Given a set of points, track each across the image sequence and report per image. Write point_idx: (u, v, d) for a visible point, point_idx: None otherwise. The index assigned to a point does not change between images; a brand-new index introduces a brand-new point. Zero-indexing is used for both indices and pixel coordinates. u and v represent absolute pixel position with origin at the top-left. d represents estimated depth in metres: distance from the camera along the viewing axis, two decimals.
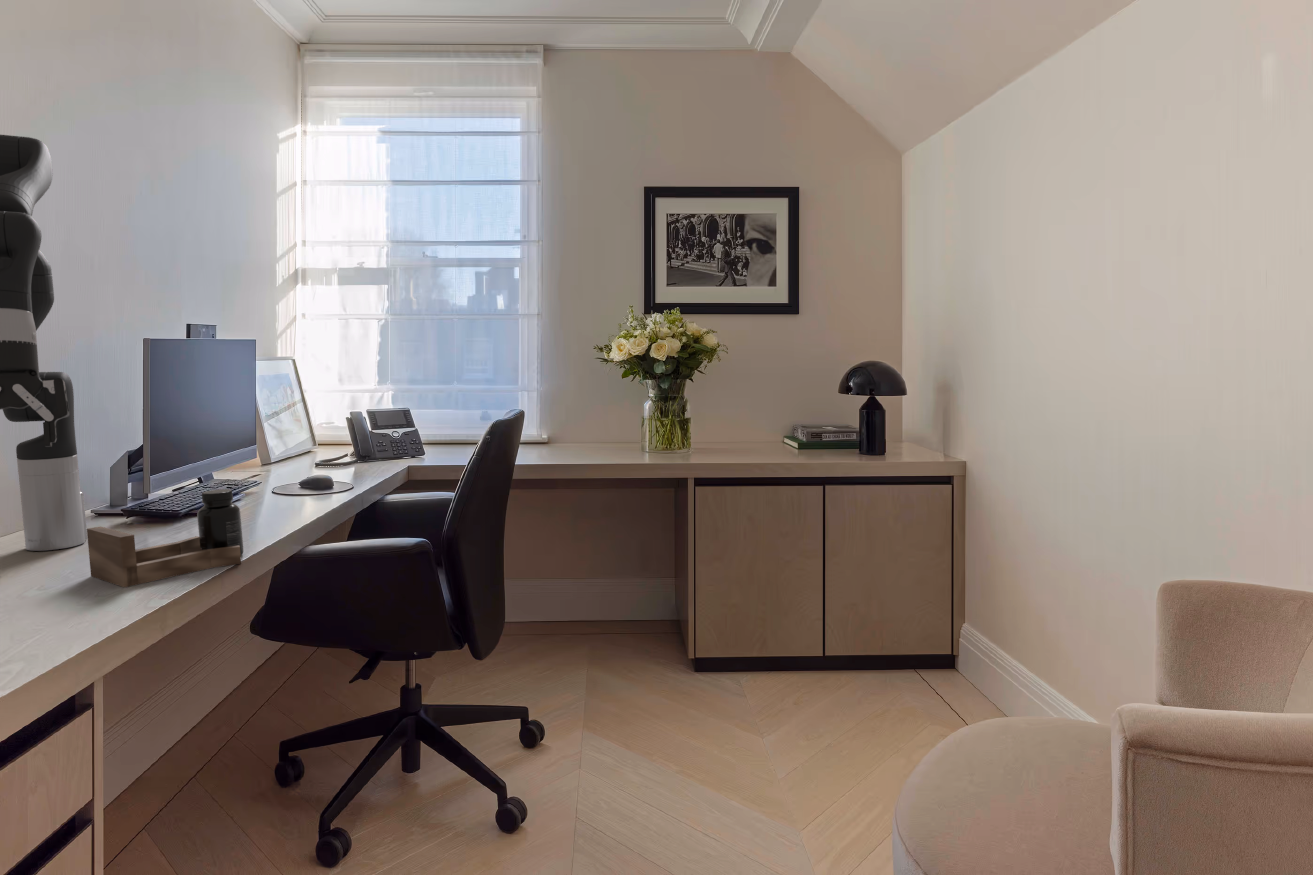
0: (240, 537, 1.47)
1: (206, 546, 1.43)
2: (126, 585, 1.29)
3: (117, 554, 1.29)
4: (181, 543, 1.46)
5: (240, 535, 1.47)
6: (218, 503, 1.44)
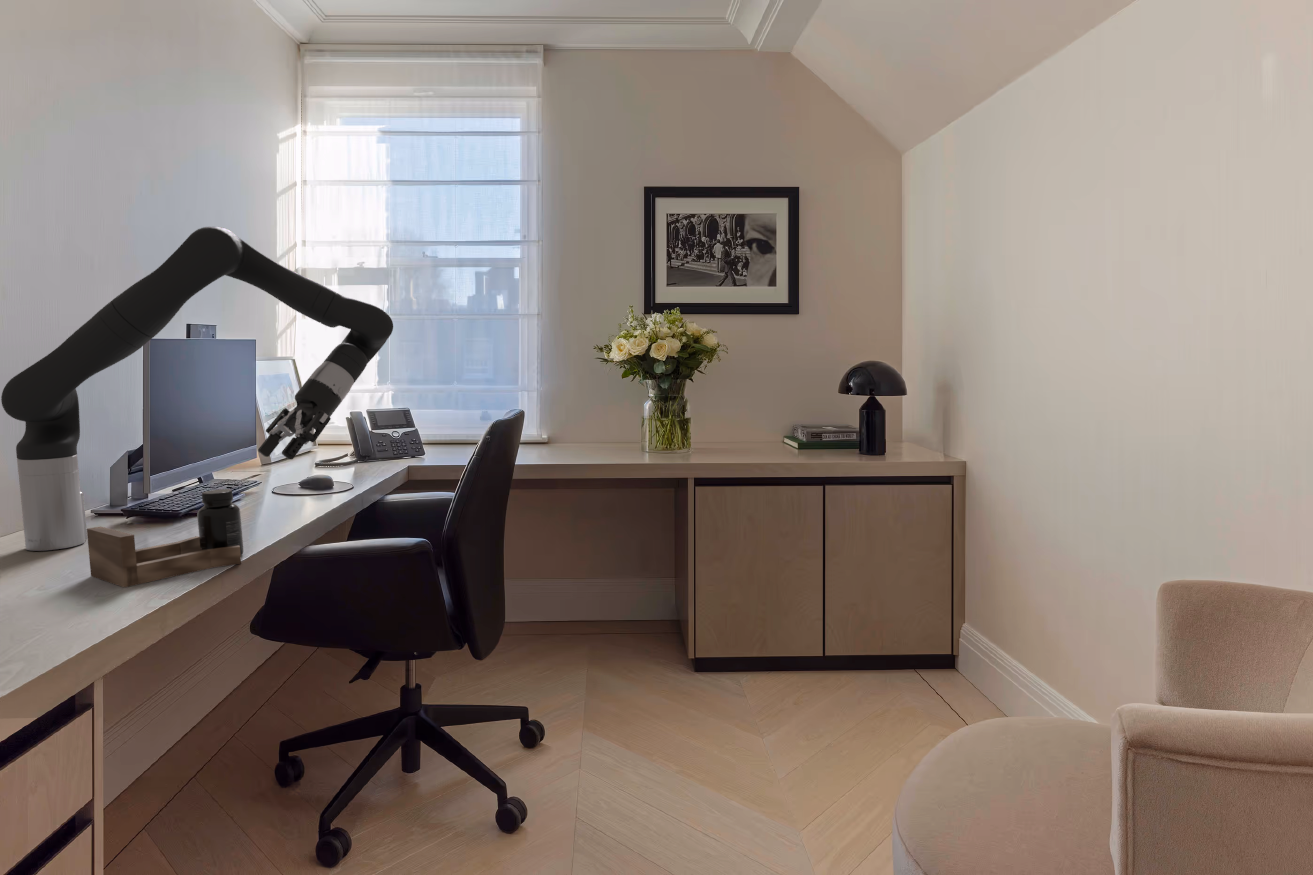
0: (240, 537, 1.47)
1: (206, 546, 1.43)
2: (126, 585, 1.29)
3: (117, 554, 1.29)
4: (181, 543, 1.46)
5: (240, 535, 1.47)
6: (218, 503, 1.44)
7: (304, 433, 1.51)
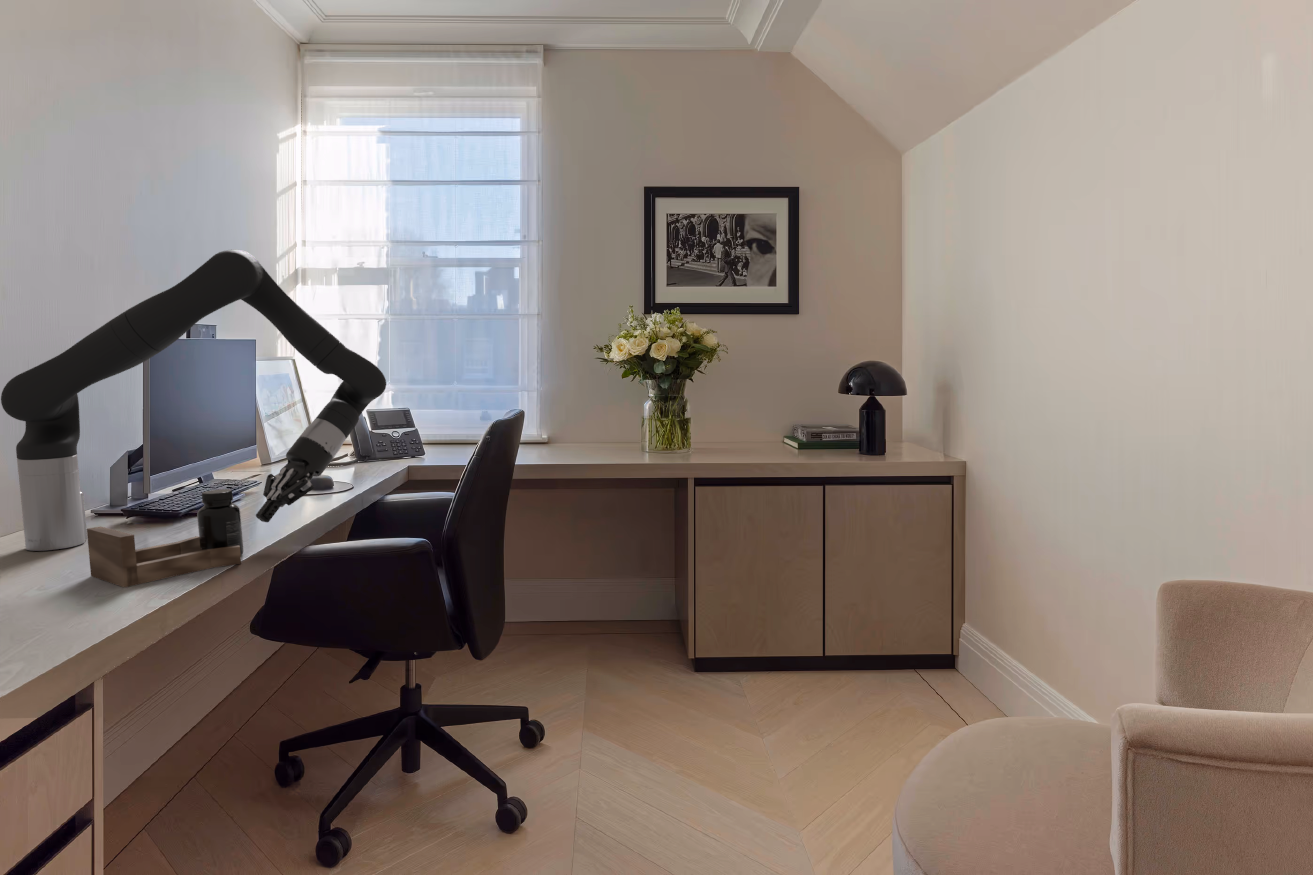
0: (240, 537, 1.47)
1: (206, 546, 1.43)
2: (126, 585, 1.29)
3: (117, 554, 1.29)
4: (181, 543, 1.46)
5: (240, 535, 1.47)
6: (218, 503, 1.44)
7: (281, 496, 1.53)
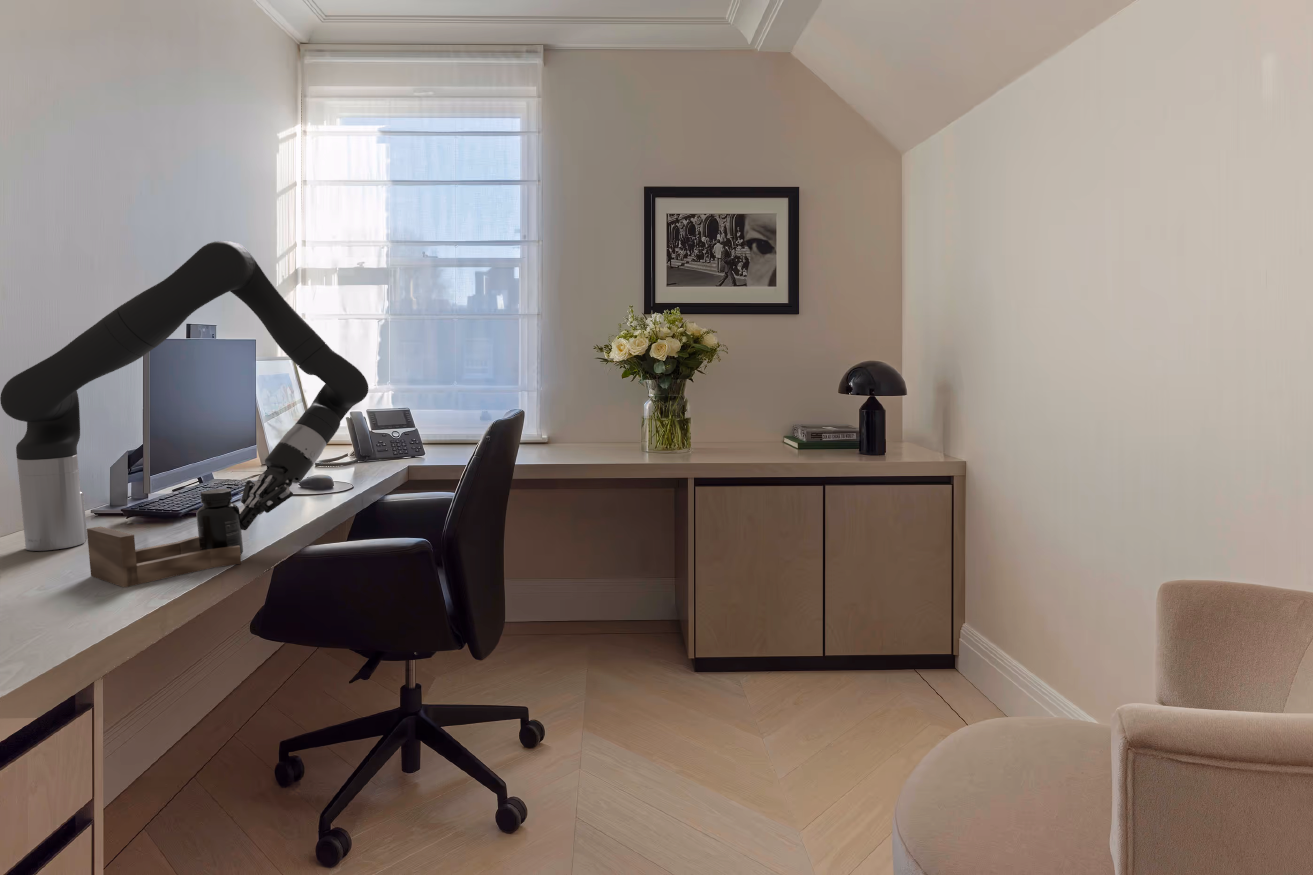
0: (239, 537, 1.47)
1: (206, 546, 1.43)
2: (126, 585, 1.29)
3: (117, 554, 1.29)
4: (181, 543, 1.46)
5: (239, 535, 1.47)
6: (217, 502, 1.44)
7: (259, 504, 1.49)
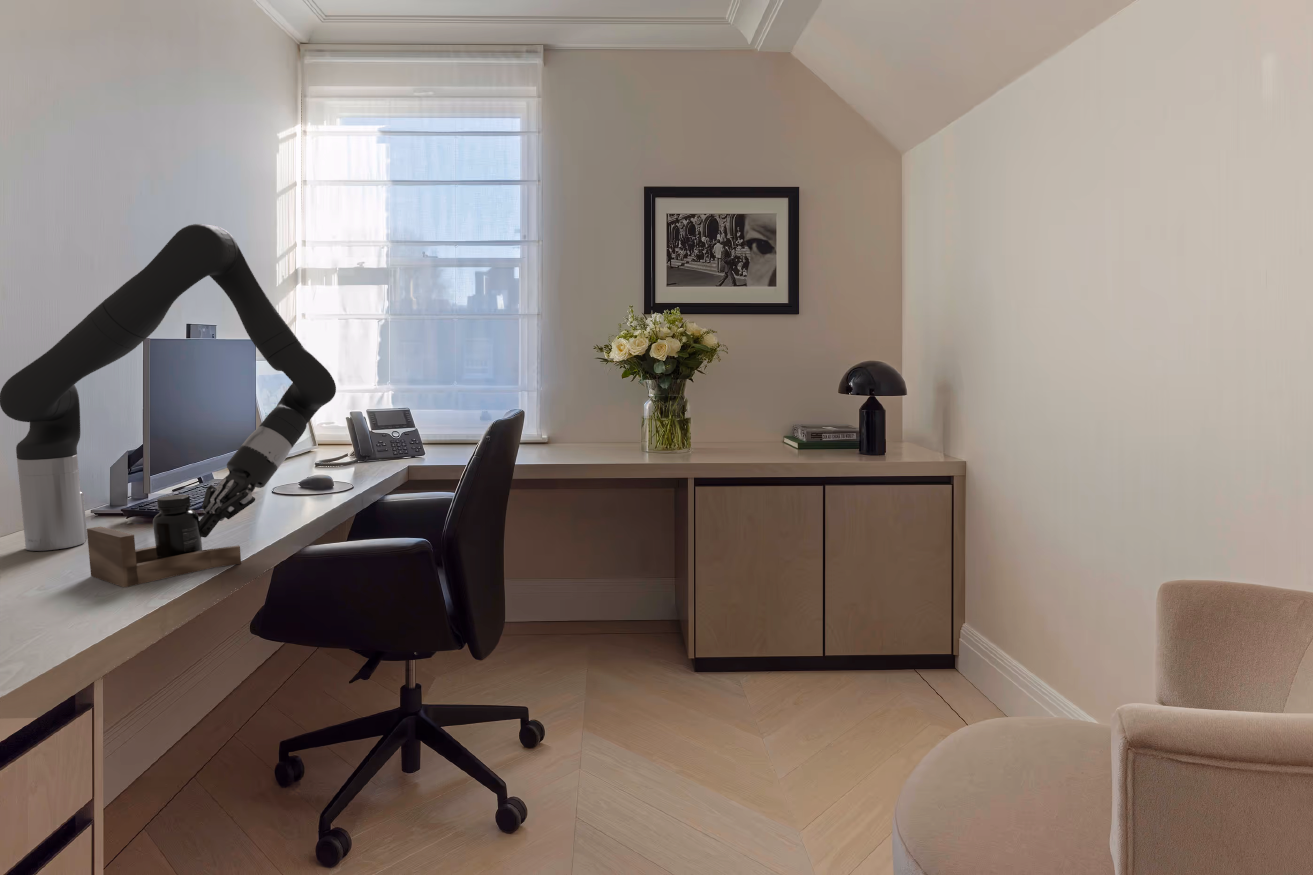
0: (199, 544, 1.41)
1: (162, 554, 1.38)
2: (126, 585, 1.29)
3: (117, 554, 1.29)
4: None
5: (199, 542, 1.41)
6: (174, 509, 1.38)
7: (219, 510, 1.43)
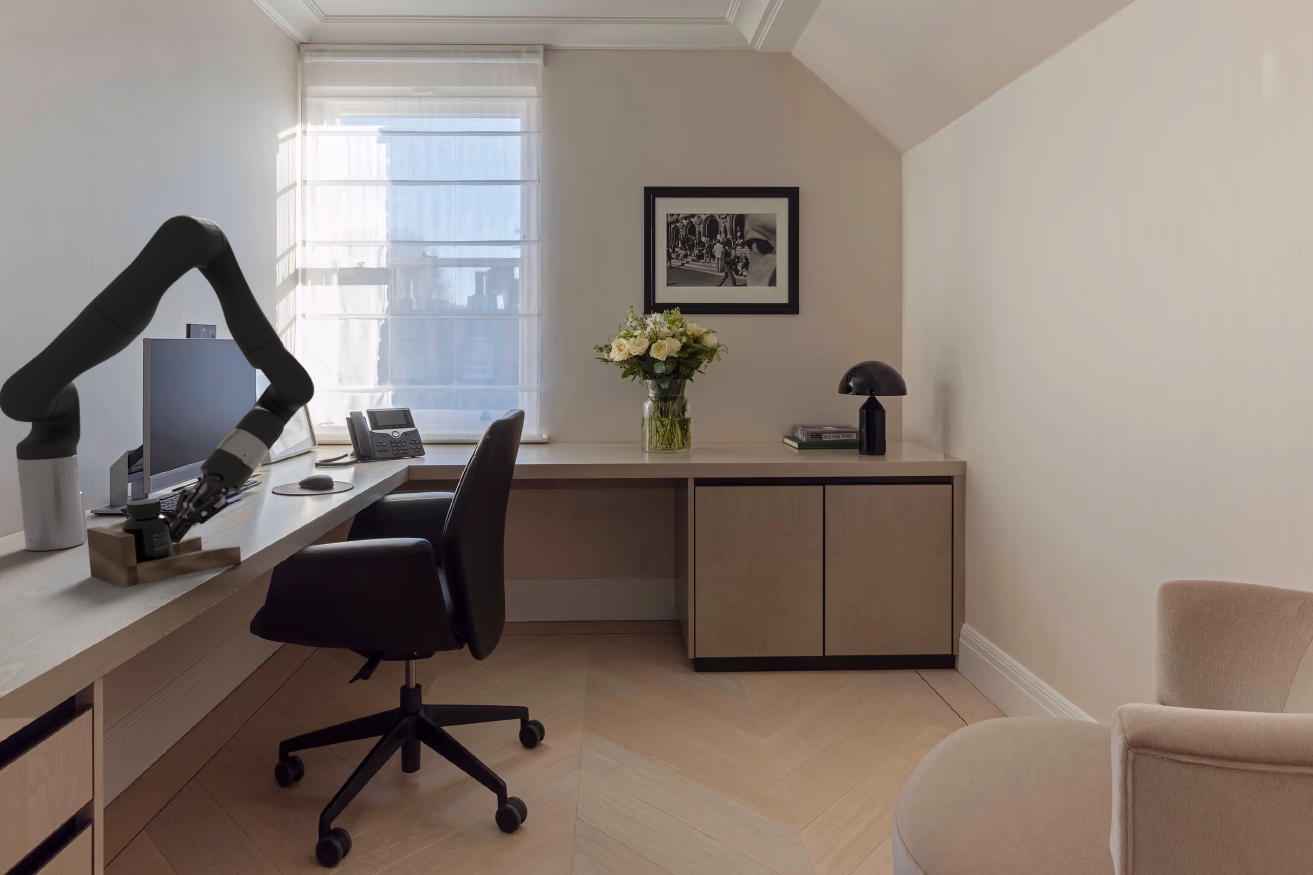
0: (170, 550, 1.37)
1: None
2: (126, 585, 1.29)
3: (117, 554, 1.29)
4: (181, 543, 1.46)
5: (170, 548, 1.37)
6: (144, 514, 1.34)
7: (192, 515, 1.39)
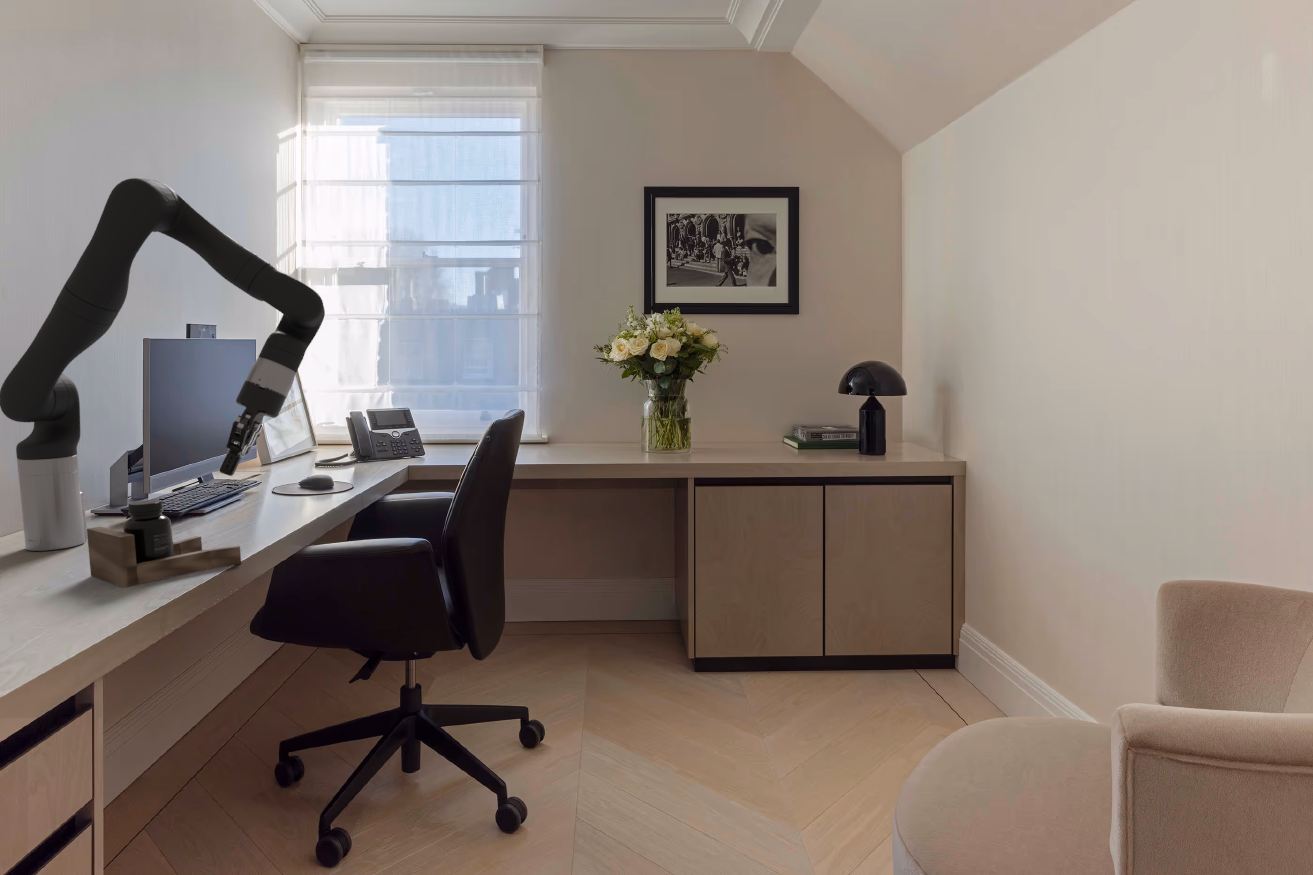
0: (170, 551, 1.37)
1: None
2: (126, 585, 1.29)
3: (117, 554, 1.29)
4: (181, 543, 1.46)
5: (170, 549, 1.37)
6: (145, 514, 1.34)
7: (227, 446, 1.47)
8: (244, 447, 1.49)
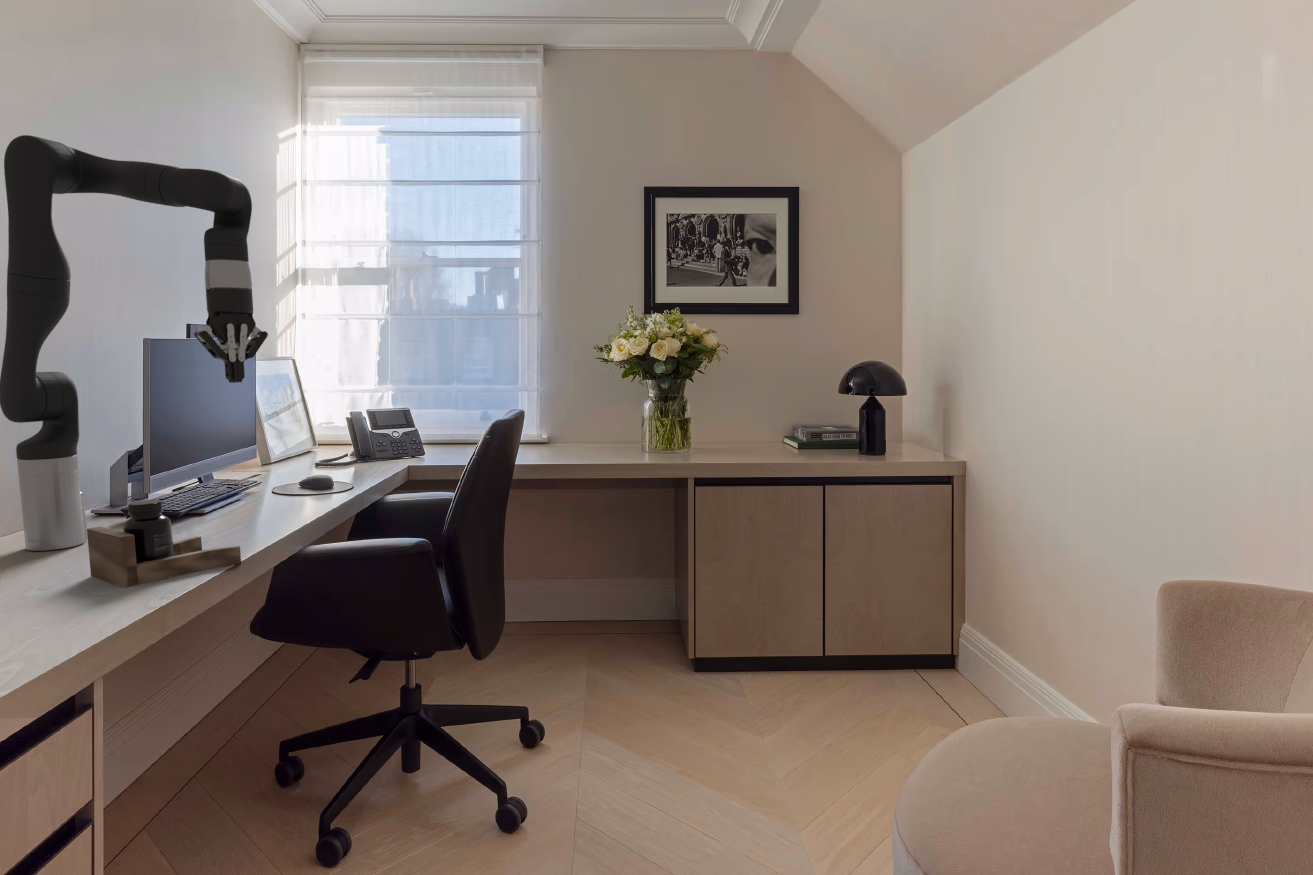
0: (170, 551, 1.37)
1: None
2: (126, 585, 1.29)
3: (117, 554, 1.29)
4: (181, 543, 1.46)
5: (170, 549, 1.37)
6: (145, 515, 1.34)
7: None
8: (229, 351, 1.49)
